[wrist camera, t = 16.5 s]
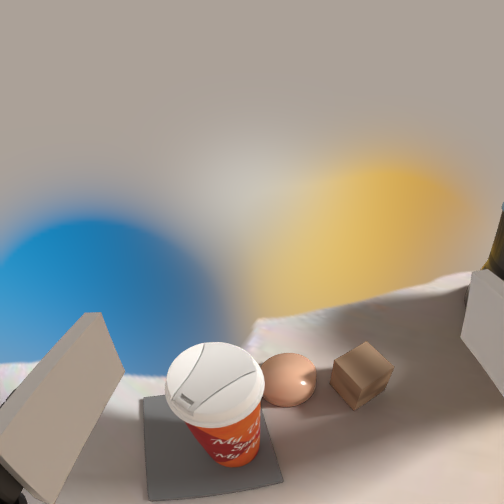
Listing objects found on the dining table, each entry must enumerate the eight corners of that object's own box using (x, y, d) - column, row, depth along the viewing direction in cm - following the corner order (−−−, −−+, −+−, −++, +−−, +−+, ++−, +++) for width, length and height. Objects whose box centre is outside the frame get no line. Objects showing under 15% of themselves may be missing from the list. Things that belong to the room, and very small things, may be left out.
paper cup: (241, 489, 25) (218, 439, 17) (184, 451, 29) (140, 382, 21) (284, 435, 30) (285, 360, 22) (227, 404, 34) (206, 322, 26)
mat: (253, 381, 37) (252, 379, 37) (283, 482, 25) (283, 480, 25) (145, 399, 35) (143, 397, 35) (150, 501, 23) (148, 499, 23)
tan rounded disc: (255, 406, 34) (253, 397, 33) (262, 362, 40) (261, 352, 39) (315, 406, 33) (316, 397, 32) (315, 362, 39) (316, 352, 38)
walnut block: (359, 365, 38) (366, 340, 35) (384, 390, 34) (394, 366, 31) (329, 384, 36) (334, 360, 33) (353, 411, 32) (361, 389, 29)
